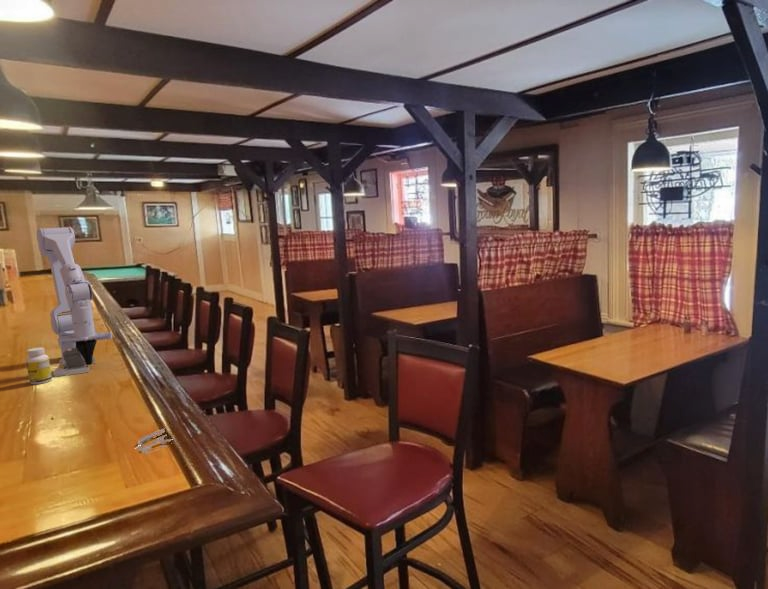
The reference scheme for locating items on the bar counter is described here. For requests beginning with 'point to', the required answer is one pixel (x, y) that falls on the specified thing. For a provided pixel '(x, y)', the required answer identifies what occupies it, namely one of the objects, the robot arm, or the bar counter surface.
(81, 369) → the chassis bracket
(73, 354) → the servo block
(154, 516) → the bar counter surface
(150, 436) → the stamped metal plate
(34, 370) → the supplement bottle
